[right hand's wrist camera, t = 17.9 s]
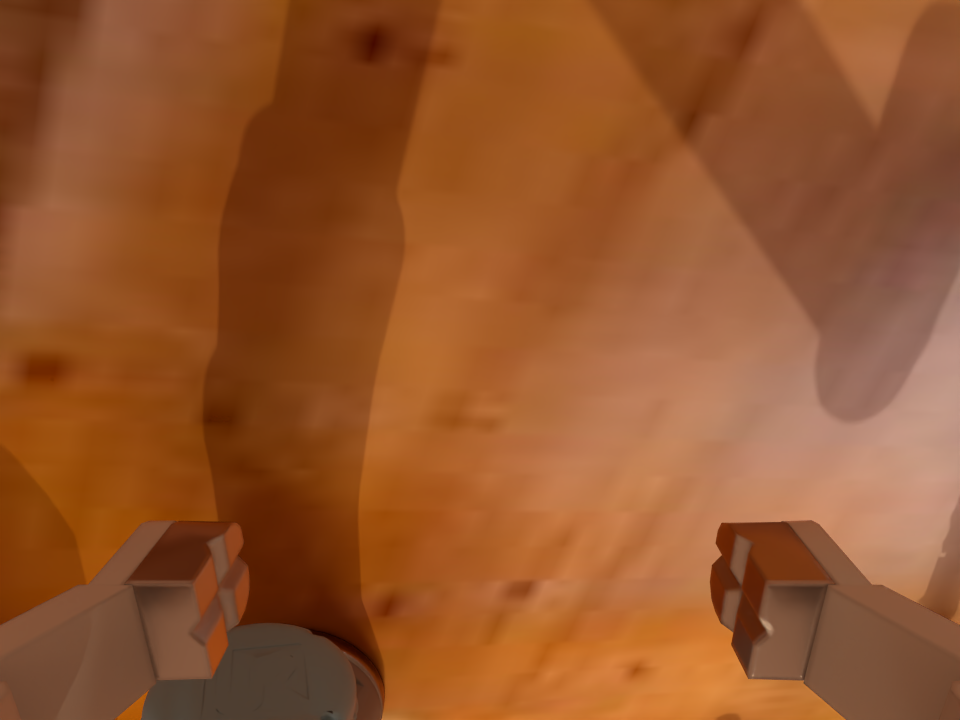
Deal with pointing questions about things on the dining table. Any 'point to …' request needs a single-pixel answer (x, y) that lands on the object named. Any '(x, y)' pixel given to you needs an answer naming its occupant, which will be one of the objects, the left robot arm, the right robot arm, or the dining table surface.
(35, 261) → the dining table surface
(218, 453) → the dining table surface
